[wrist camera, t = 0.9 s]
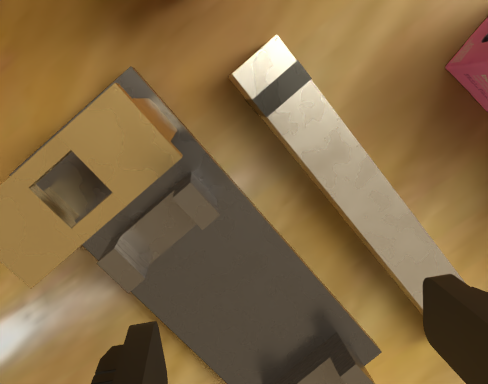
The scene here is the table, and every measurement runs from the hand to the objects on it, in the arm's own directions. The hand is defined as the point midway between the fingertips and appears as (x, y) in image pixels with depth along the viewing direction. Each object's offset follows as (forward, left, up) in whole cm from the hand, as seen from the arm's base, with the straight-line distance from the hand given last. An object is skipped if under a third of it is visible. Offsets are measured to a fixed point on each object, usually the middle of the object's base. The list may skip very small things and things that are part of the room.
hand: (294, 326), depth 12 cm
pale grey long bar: (-7, +9, -22) cm, 25 cm away
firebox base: (+6, +5, -22) cm, 24 cm away
